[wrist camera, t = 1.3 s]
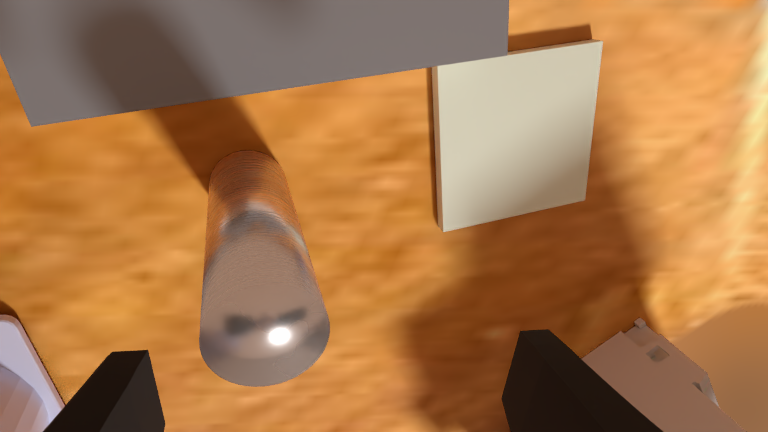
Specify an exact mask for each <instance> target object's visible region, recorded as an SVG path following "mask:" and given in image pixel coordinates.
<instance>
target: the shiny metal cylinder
mask: <svg viewBox="0 0 768 432" xmlns="http://www.w3.org/2000/svg"><path fill="white" fill-rule="evenodd" d="M329 333H330V324H329V319H328V315H327V312H326V308H325V305H324V302H323V299H322V295H321V292H320V289H319V285H318V282H317V279H316V276H315V272H314V269H313V266H312V263H311V259H310V256H309V253H308V249H307V246H306V243H305V240H304V236H303V233H302V230H301V227H300V223H299V220H298V217H297V213H296V210H295V207H294V204H293V200H292V197H291V194H290V191H289V187H288V184H287V181H286V177H285V174H284V172H283V170H282V168H281V167H280V165H279V164H278V163H277V162H276V161H275V160H274V159H273V158H271V157H270V156H268V155H266V154H264V153H262V152H258V151H252V150H243V151H238V152H234V153H231V154H229V155H227V156H226V157H224V158H223V159H222V160H220V161H219V162H218V164H217V165H216V166H215V168H214V169H213V171H212V173H211V176H210V182H209V196H208V212H207V227H206V243H205V259H204V274H203V290H202V306H201V321H200V337H199V344H200V350H201V354H202V357H203V359H204V361H205V362H206V364H207V365H208V367H209V368H210V369H211V370H212V371H213V372H214V373H216V374H217V375H218V376H220V377H221V378H223V379H225V380H227V381H229V382H232V383H235V384H239V385H244V386H254V387H257V386H269V385H275V384H279V383H282V382H285V381H288V380H290V379H292V378H294V377H296V376H298V375H300V374H301V373H303V372H304V371H306V370H307V369H308V368H309V367H311V366H312V365H313V364H314V363H315V362H316V361H317V360H318V358H319V357H320V356H321V354H322V353H323V351H324V349H325V347H326V345H327V342H328V338H329Z"/></svg>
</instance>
